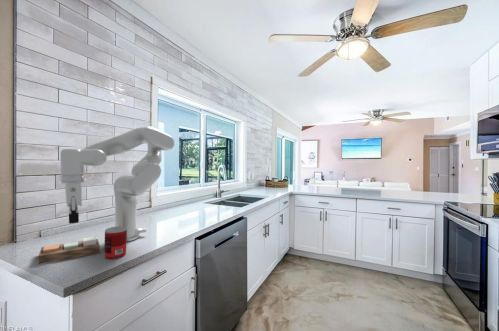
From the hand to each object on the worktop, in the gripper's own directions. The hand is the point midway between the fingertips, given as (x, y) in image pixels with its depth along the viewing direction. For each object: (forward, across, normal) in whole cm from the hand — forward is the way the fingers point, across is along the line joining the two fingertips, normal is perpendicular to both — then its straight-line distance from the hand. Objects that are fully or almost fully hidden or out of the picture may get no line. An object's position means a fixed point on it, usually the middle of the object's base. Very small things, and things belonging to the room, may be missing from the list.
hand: (73, 222), depth 95 cm
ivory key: (+11, 0, -5) cm, 12 cm away
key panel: (+13, 0, +1) cm, 13 cm away
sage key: (+12, 0, +1) cm, 12 cm away
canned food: (+13, -12, -13) cm, 23 cm away
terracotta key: (+12, 0, +7) cm, 14 cm away
